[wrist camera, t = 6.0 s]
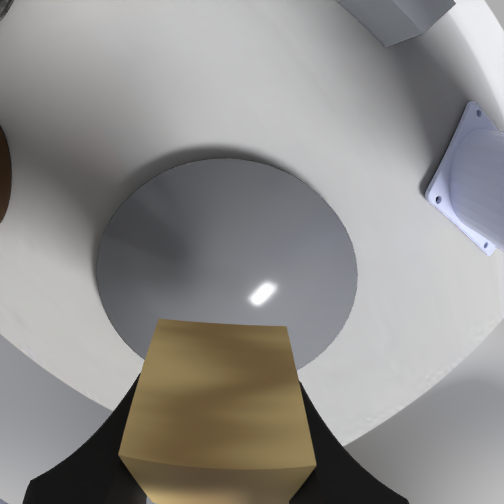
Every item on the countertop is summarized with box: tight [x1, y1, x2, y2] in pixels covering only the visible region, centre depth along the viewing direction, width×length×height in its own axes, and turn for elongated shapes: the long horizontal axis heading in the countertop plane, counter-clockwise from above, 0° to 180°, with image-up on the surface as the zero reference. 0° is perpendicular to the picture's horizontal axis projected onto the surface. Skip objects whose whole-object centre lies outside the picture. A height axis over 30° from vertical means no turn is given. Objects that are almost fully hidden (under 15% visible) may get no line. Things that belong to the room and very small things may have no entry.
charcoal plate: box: [97, 158, 358, 370], centre depth 17 cm, size 16×16×1 cm
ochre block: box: [118, 319, 316, 504], centre depth 9 cm, size 5×5×6 cm
